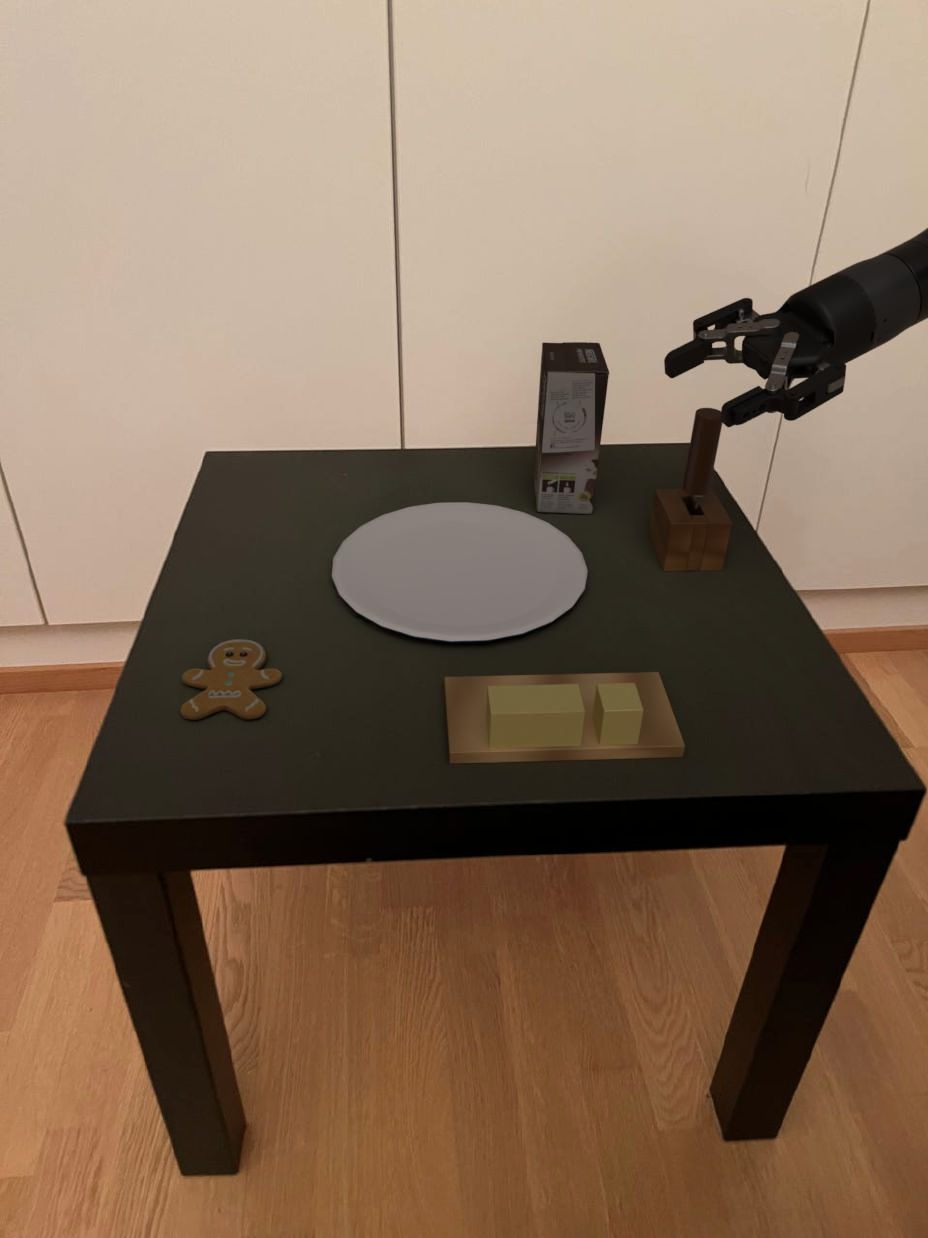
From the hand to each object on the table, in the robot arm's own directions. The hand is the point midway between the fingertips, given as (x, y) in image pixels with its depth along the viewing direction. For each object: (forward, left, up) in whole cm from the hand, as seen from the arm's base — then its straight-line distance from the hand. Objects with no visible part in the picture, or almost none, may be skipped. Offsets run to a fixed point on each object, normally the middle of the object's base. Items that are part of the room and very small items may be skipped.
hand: (694, 391), depth 82 cm
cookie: (+9, +41, -19) cm, 47 cm away
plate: (+12, +16, -20) cm, 28 cm away
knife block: (+2, -5, -19) cm, 20 cm away
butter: (-11, +25, -18) cm, 33 cm away
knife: (+2, -5, -19) cm, 20 cm away
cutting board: (-10, +22, -19) cm, 31 cm away
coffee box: (+19, -3, -20) cm, 27 cm away
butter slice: (-15, +20, -18) cm, 31 cm away
